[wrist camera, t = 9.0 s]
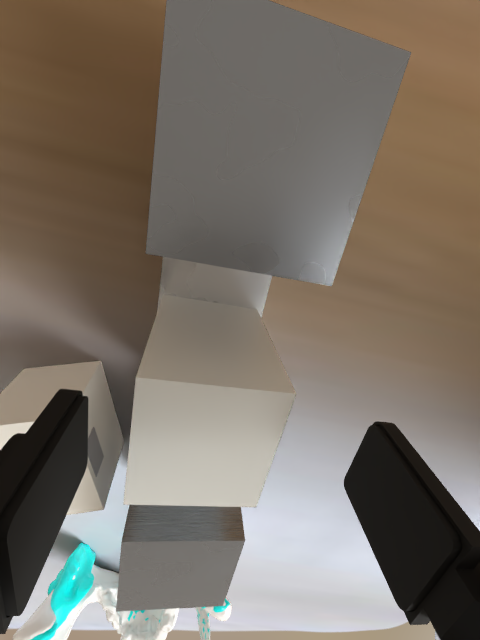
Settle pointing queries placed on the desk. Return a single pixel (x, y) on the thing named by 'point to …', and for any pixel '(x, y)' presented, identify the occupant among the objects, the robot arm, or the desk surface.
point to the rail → (248, 212)
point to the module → (205, 407)
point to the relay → (103, 426)
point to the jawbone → (102, 586)
